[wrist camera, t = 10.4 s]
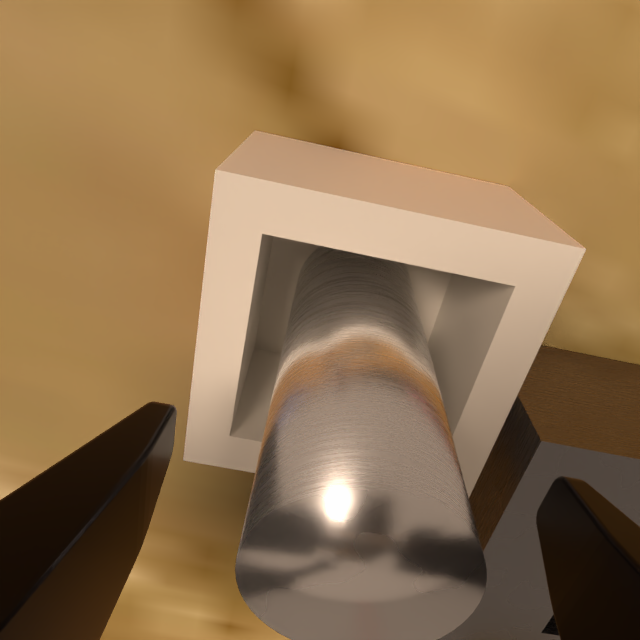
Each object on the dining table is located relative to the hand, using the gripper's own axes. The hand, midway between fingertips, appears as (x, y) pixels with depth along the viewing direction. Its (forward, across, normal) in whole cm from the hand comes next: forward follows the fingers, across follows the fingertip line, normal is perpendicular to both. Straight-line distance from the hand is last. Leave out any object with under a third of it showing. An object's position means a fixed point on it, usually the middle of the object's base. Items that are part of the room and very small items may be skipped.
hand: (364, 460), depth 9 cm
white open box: (+8, 0, 0) cm, 8 cm away
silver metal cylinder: (+7, 0, 0) cm, 7 cm away
